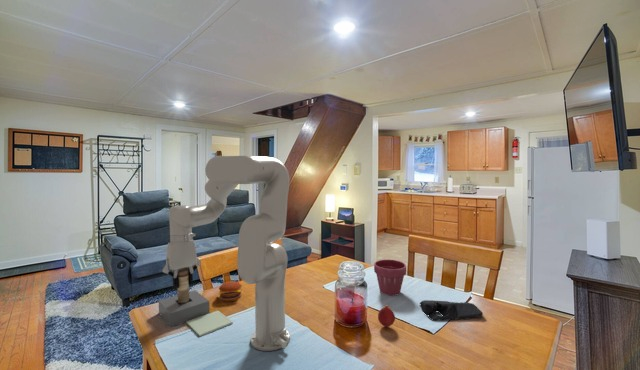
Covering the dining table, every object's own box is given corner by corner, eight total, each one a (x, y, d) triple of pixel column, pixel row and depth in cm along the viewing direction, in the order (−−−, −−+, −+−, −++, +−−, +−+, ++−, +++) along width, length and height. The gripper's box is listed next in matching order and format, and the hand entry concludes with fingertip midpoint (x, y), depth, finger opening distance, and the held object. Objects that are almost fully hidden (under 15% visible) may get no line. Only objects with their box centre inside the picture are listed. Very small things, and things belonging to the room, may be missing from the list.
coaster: (232, 323, 107) (232, 321, 107) (199, 336, 99) (199, 334, 99) (218, 311, 116) (218, 310, 116) (186, 323, 107) (186, 321, 107)
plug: (191, 300, 114) (190, 270, 113) (180, 304, 111) (178, 272, 110) (187, 297, 117) (186, 267, 116) (176, 300, 114) (175, 270, 113)
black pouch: (488, 323, 108) (489, 310, 108) (428, 322, 109) (428, 309, 109) (469, 304, 123) (469, 292, 123) (416, 303, 124) (416, 292, 124)
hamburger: (219, 294, 132) (219, 279, 132) (241, 291, 135) (241, 277, 134) (218, 303, 123) (218, 287, 123) (242, 300, 126) (241, 285, 125)
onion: (382, 332, 101) (382, 310, 101) (375, 324, 107) (375, 302, 106) (397, 330, 103) (398, 307, 102) (389, 321, 108) (389, 300, 108)
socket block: (209, 313, 114) (209, 301, 114) (170, 327, 105) (170, 313, 104) (195, 301, 124) (195, 290, 124) (158, 313, 115) (158, 300, 114)
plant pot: (367, 290, 135) (367, 263, 135) (385, 282, 145) (386, 257, 144) (394, 301, 125) (394, 271, 124) (411, 292, 134) (412, 264, 133)
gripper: (199, 233, 121) (200, 277, 122) (154, 240, 109) (156, 288, 110) (207, 236, 116) (208, 281, 116) (160, 243, 104) (162, 294, 105)
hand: (183, 284), depth 113 cm, fingers closed on plug, 4 cm apart
